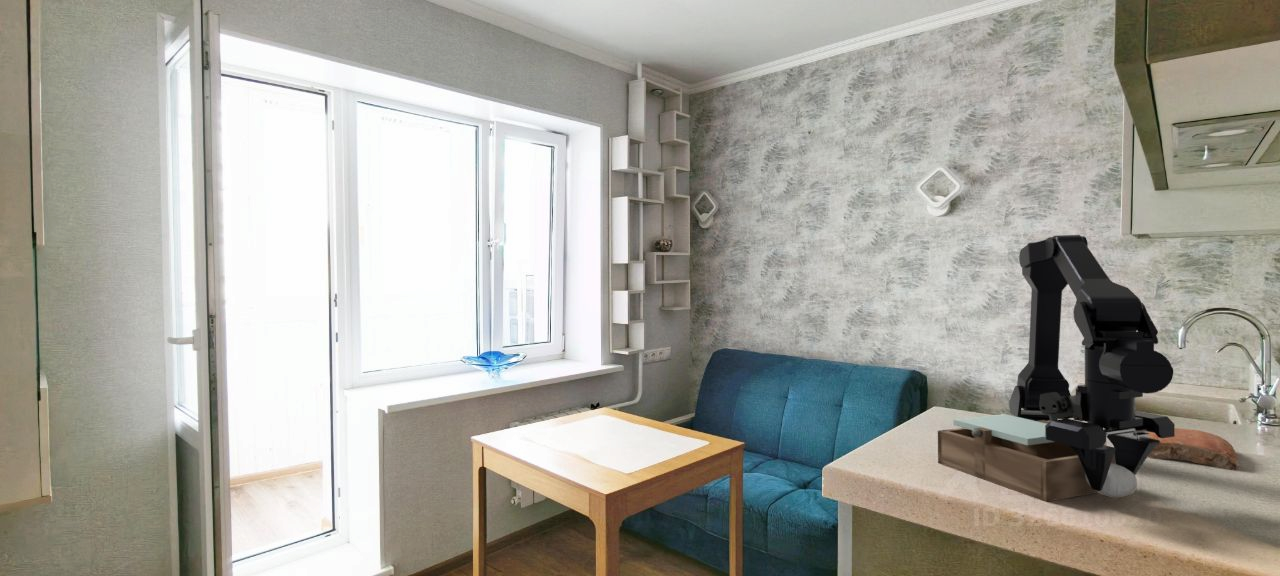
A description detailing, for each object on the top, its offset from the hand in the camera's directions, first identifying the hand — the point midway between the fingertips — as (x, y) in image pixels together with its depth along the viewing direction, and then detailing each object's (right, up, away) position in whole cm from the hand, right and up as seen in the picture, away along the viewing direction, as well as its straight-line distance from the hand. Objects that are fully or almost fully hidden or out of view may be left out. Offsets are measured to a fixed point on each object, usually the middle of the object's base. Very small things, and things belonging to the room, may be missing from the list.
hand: (1110, 487), depth 86 cm
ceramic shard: (+31, -2, +24) cm, 39 cm away
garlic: (0, -1, 0) cm, 1 cm away
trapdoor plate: (-5, +5, +14) cm, 16 cm away
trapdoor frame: (-4, -2, +13) cm, 14 cm away
